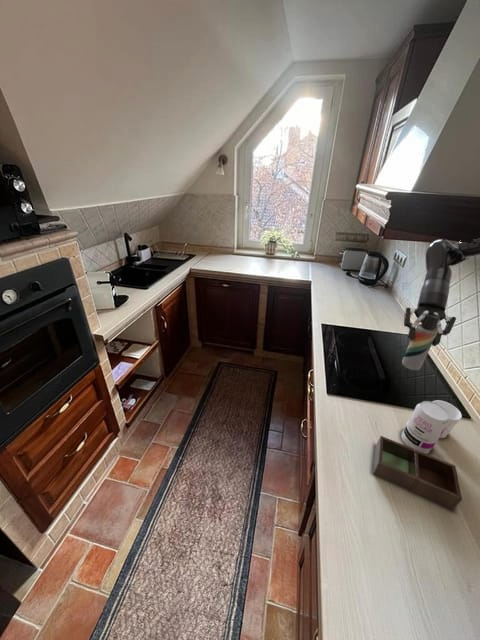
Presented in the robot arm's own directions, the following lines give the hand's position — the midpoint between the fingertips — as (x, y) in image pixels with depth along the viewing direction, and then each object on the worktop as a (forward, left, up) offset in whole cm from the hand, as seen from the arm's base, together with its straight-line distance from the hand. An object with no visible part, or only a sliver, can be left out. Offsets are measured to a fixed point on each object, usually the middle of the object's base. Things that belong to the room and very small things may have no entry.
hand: (422, 342), depth 81 cm
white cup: (-12, +7, -28) cm, 31 cm away
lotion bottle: (0, -2, -11) cm, 11 cm away
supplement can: (-6, +15, -28) cm, 32 cm away
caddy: (-4, +28, -28) cm, 40 cm away
